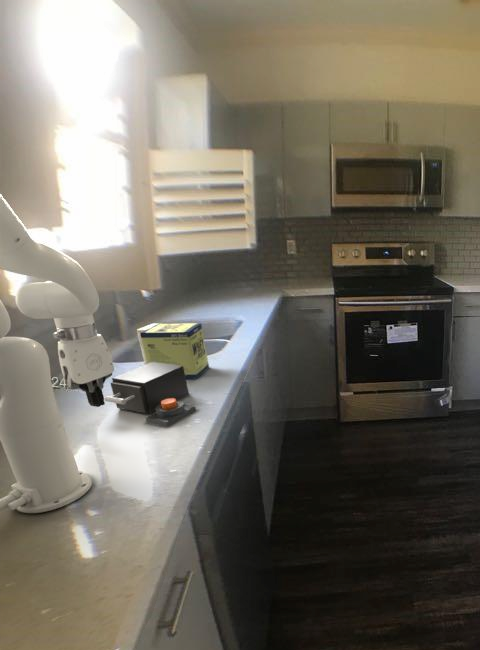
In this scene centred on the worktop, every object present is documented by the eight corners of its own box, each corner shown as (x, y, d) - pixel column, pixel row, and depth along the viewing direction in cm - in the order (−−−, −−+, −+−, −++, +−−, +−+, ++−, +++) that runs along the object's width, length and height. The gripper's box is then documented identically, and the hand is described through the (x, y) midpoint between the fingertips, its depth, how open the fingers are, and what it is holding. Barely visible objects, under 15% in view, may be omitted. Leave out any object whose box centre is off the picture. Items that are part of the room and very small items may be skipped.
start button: (169, 410, 117) (168, 404, 116) (159, 408, 118) (157, 402, 117) (180, 405, 120) (179, 399, 119) (169, 403, 121) (168, 397, 120)
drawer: (132, 420, 117) (125, 394, 114) (103, 414, 120) (95, 388, 118) (181, 395, 131) (176, 371, 128) (153, 390, 135) (148, 367, 132)
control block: (167, 427, 115) (164, 415, 113) (146, 423, 117) (143, 411, 116) (196, 410, 123) (193, 400, 122) (176, 407, 126) (173, 396, 124)
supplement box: (156, 366, 156) (148, 329, 151) (144, 366, 157) (135, 329, 152) (171, 358, 164) (164, 323, 159) (159, 358, 165) (152, 322, 160)
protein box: (198, 378, 145) (188, 331, 139) (149, 379, 145) (138, 332, 139) (210, 367, 155) (202, 322, 149) (164, 368, 155) (155, 323, 149)
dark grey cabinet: (151, 414, 122) (144, 383, 118) (119, 408, 126) (111, 378, 122) (189, 395, 133) (183, 365, 130) (159, 390, 137) (152, 361, 134)
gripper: (56, 341, 98) (79, 419, 105) (117, 326, 111) (134, 395, 118) (33, 339, 101) (57, 415, 107) (95, 324, 114) (113, 392, 120)
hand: (97, 405), depth 112 cm, fingers closed
